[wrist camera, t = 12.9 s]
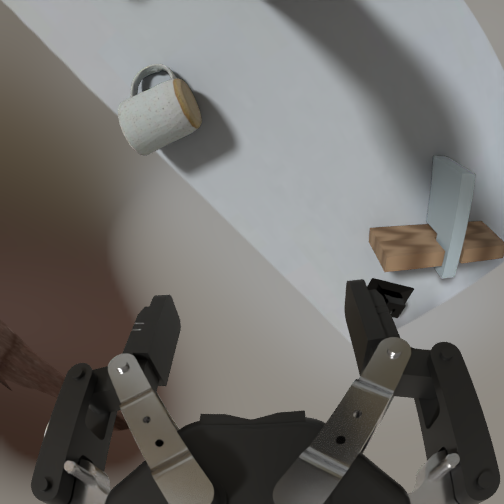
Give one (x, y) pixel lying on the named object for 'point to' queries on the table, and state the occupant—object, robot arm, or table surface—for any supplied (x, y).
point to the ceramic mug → (158, 112)
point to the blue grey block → (450, 209)
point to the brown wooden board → (430, 246)
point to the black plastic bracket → (392, 295)
